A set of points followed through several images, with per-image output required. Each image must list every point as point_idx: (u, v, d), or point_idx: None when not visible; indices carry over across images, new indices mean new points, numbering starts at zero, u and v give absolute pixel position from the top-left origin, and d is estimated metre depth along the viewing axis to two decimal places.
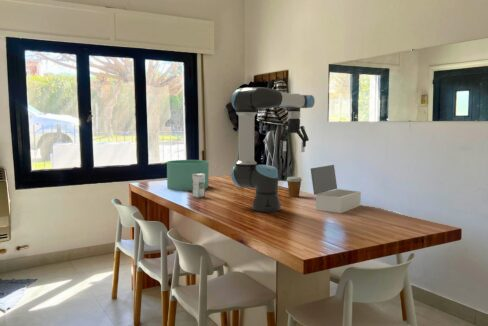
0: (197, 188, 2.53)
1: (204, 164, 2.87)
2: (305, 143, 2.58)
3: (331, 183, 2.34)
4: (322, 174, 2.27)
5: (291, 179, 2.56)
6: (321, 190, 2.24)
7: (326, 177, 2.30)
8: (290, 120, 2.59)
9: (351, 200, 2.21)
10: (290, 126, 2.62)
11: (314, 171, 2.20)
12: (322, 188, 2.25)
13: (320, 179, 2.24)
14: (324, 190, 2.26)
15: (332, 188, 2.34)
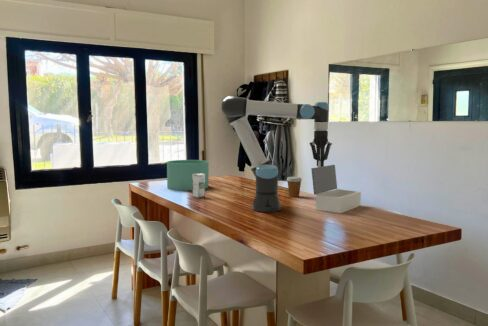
0: (197, 188, 2.53)
1: (204, 164, 2.87)
2: (323, 162, 2.29)
3: (331, 183, 2.33)
4: (323, 174, 2.26)
5: (291, 179, 2.56)
6: (321, 190, 2.24)
7: (327, 177, 2.30)
8: (317, 132, 2.26)
9: (351, 200, 2.21)
10: (316, 139, 2.29)
11: (315, 171, 2.20)
12: (322, 188, 2.25)
13: (320, 179, 2.24)
14: (324, 190, 2.26)
15: (332, 188, 2.34)
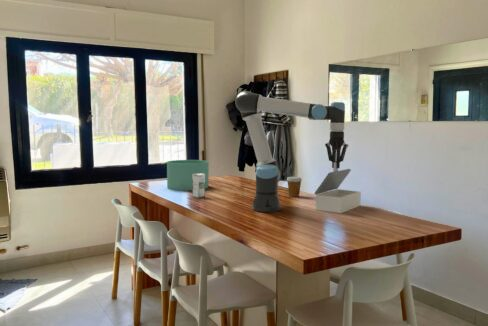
0: (197, 188, 2.53)
1: (204, 164, 2.87)
2: (339, 164, 2.23)
3: (335, 185, 2.32)
4: (334, 178, 2.22)
5: (291, 179, 2.56)
6: (323, 191, 2.23)
7: (336, 180, 2.27)
8: (333, 133, 2.20)
9: (351, 200, 2.21)
10: (332, 140, 2.23)
11: (330, 176, 2.14)
12: (325, 189, 2.24)
13: (329, 182, 2.21)
14: (325, 190, 2.26)
15: (333, 188, 2.34)
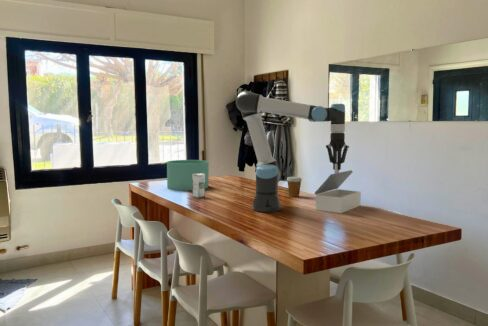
0: (197, 188, 2.53)
1: (204, 164, 2.87)
2: (340, 166, 2.23)
3: (336, 185, 2.32)
4: (336, 179, 2.22)
5: (291, 179, 2.56)
6: (323, 191, 2.23)
7: (337, 181, 2.26)
8: (333, 135, 2.20)
9: (351, 200, 2.21)
10: (333, 142, 2.23)
11: (331, 178, 2.14)
12: (325, 189, 2.24)
13: (330, 183, 2.21)
14: (325, 191, 2.26)
15: (333, 189, 2.34)
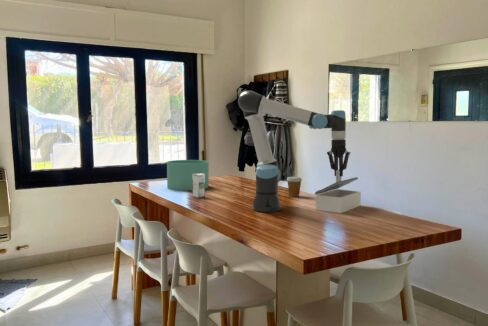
0: (197, 188, 2.53)
1: (204, 164, 2.87)
2: (342, 172, 2.23)
3: (337, 187, 2.31)
4: (339, 185, 2.21)
5: (291, 179, 2.56)
6: None
7: (340, 185, 2.25)
8: (334, 141, 2.20)
9: (351, 200, 2.21)
10: (334, 148, 2.23)
11: (336, 185, 2.13)
12: (326, 191, 2.23)
13: (333, 187, 2.20)
14: (326, 191, 2.26)
15: (334, 189, 2.34)
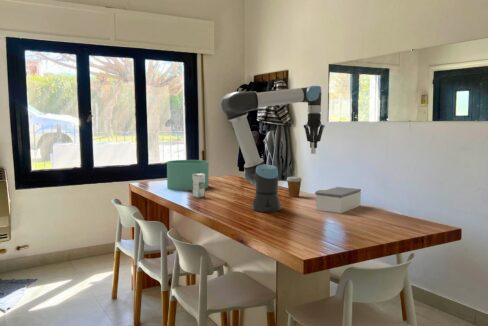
0: (197, 188, 2.53)
1: (204, 164, 2.87)
2: (316, 144, 2.39)
3: None
4: None
5: (291, 179, 2.56)
6: None
7: None
8: (310, 115, 2.35)
9: (351, 200, 2.21)
10: (310, 122, 2.39)
11: (338, 196, 2.12)
12: None
13: None
14: None
15: None
